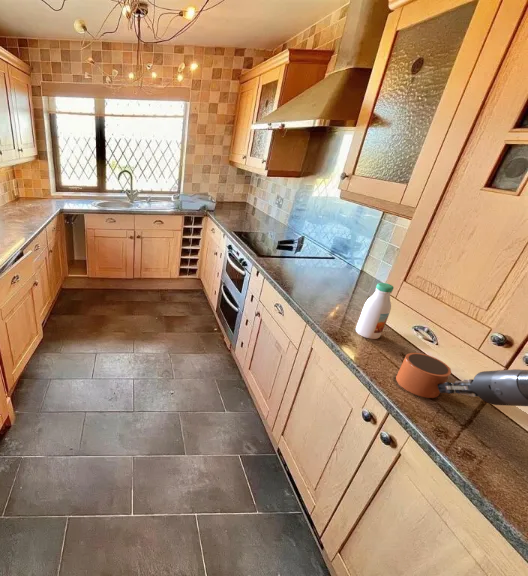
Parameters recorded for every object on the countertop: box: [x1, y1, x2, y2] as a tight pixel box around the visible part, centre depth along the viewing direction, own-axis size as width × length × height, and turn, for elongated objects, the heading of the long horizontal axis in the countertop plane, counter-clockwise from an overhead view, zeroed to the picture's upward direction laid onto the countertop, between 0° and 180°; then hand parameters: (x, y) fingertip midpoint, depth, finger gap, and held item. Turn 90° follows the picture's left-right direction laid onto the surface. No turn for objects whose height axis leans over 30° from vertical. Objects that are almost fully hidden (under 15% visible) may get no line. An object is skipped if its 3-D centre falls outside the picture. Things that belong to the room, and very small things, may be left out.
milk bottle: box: [355, 282, 394, 340], centre depth 109 cm, size 8×8×20 cm
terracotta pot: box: [395, 352, 452, 399], centre depth 89 cm, size 10×10×8 cm
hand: (440, 388), depth 84 cm, fingers closed
